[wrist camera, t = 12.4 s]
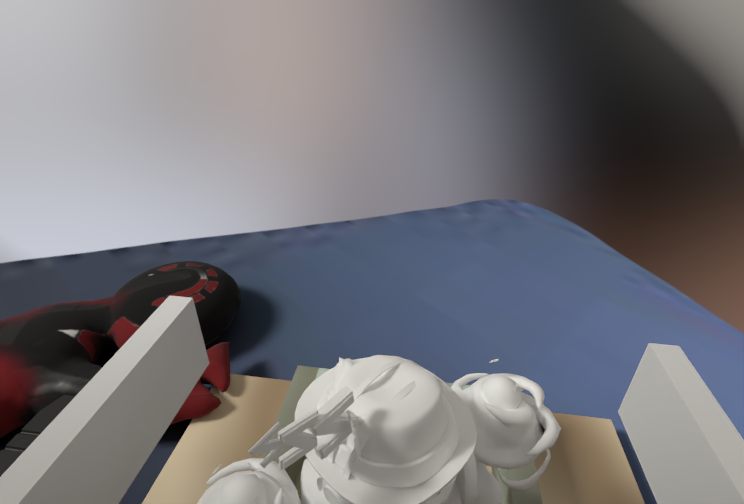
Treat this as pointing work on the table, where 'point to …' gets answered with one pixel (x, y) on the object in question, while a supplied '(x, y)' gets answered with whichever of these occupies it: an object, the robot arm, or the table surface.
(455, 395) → the hat wearing toy figure
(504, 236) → the table surface
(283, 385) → the jig board
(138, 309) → the toy motorcycle
